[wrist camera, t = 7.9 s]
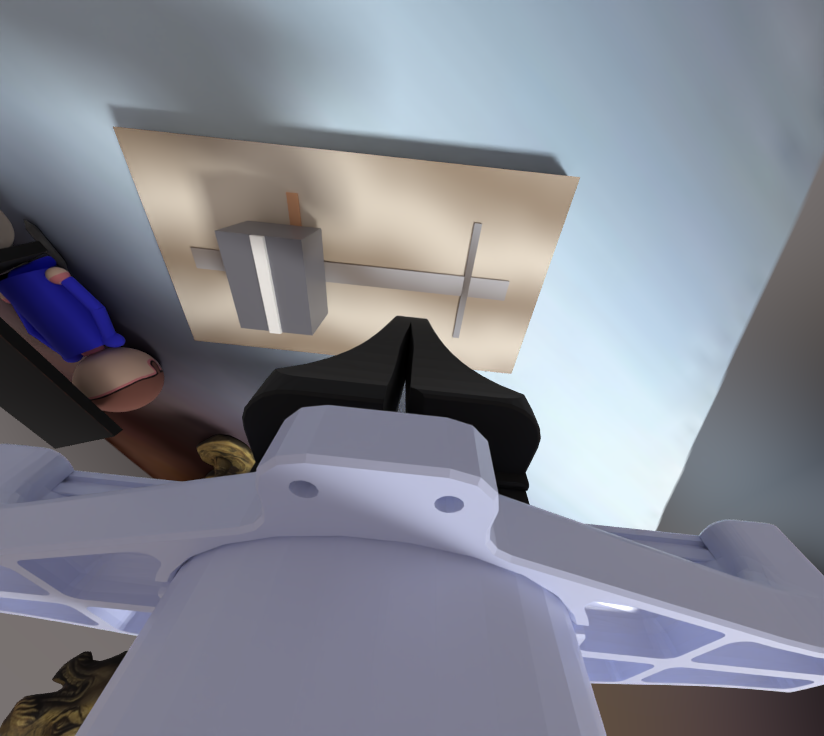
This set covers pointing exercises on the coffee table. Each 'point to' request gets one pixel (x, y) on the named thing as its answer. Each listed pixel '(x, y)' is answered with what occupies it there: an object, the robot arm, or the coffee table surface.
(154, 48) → the coffee table surface
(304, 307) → the fader tab
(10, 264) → the figurine character
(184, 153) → the fader console
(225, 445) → the figurine
